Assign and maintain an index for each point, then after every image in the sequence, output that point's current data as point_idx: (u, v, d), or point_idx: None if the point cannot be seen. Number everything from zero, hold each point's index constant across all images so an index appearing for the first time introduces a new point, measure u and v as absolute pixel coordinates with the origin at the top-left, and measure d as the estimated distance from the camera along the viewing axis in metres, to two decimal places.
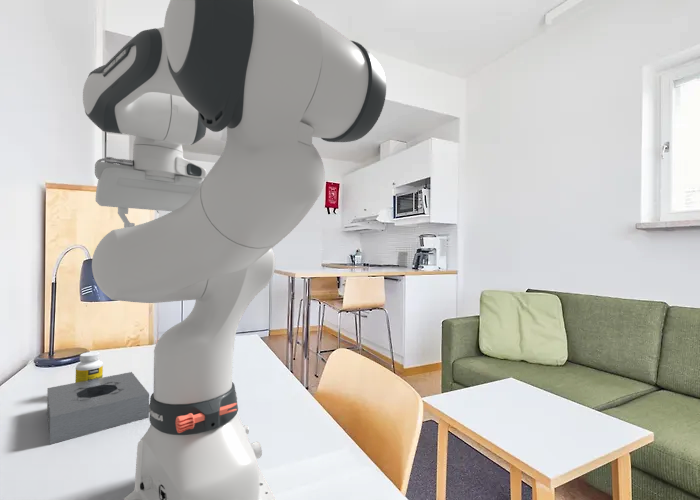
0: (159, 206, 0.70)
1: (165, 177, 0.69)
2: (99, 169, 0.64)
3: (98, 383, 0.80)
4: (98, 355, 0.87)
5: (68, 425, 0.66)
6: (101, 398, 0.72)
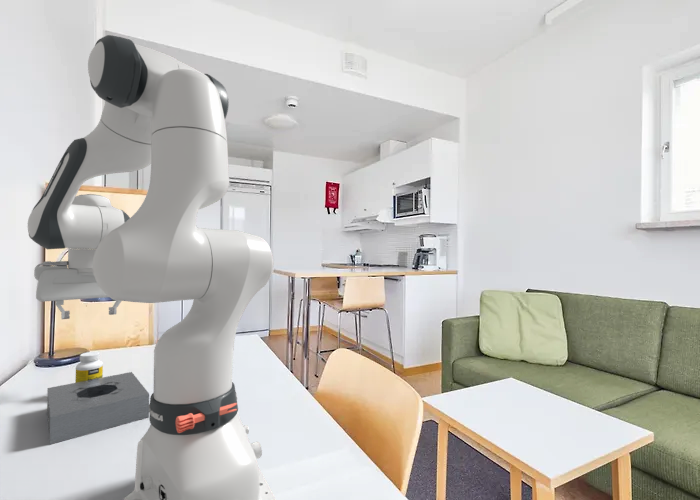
0: (91, 295, 0.86)
1: None
2: (38, 272, 0.80)
3: (98, 383, 0.80)
4: (98, 355, 0.87)
5: (68, 425, 0.66)
6: (101, 398, 0.72)
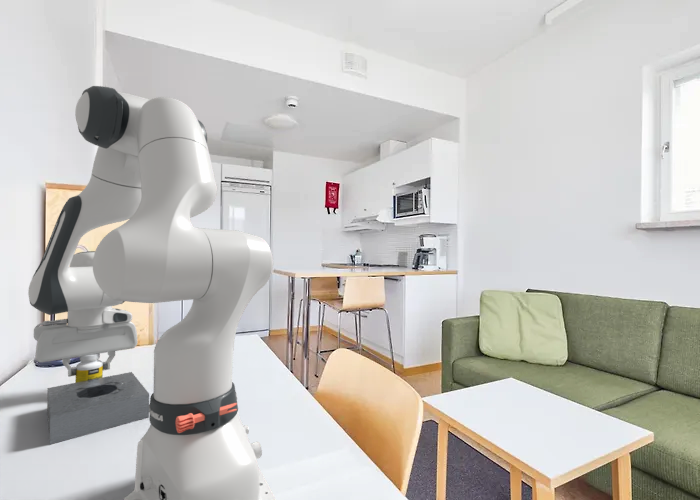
0: (90, 352, 0.86)
1: (94, 329, 0.85)
2: (37, 333, 0.80)
3: (98, 383, 0.80)
4: (98, 355, 0.87)
5: (68, 425, 0.66)
6: (101, 398, 0.72)
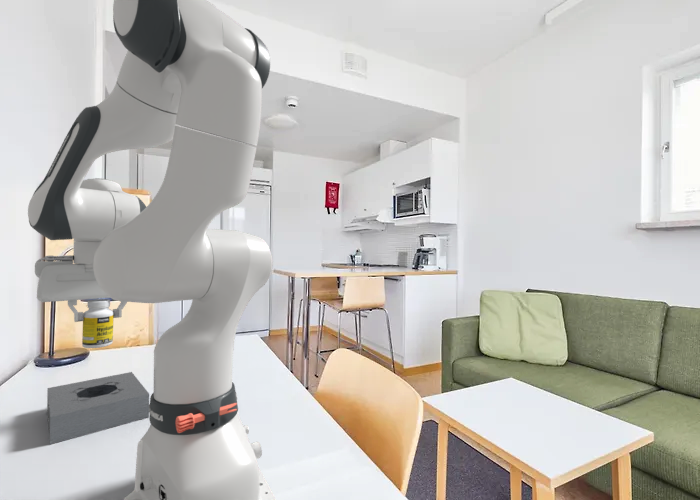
0: (100, 294, 0.75)
1: None
2: (39, 268, 0.69)
3: (98, 383, 0.80)
4: (108, 302, 0.76)
5: (68, 425, 0.66)
6: (101, 398, 0.72)
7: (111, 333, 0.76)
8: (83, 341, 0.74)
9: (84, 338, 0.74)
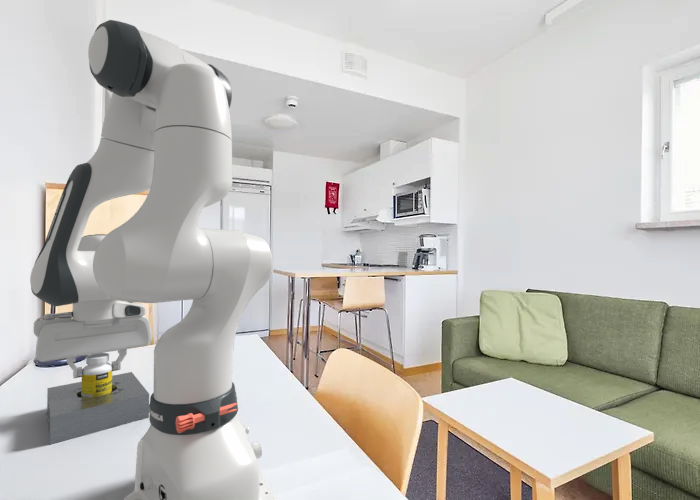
0: (99, 350, 0.75)
1: (103, 323, 0.74)
2: (38, 328, 0.69)
3: None
4: (107, 357, 0.76)
5: (68, 425, 0.66)
6: (101, 398, 0.72)
7: (110, 388, 0.76)
8: None
9: (83, 395, 0.74)
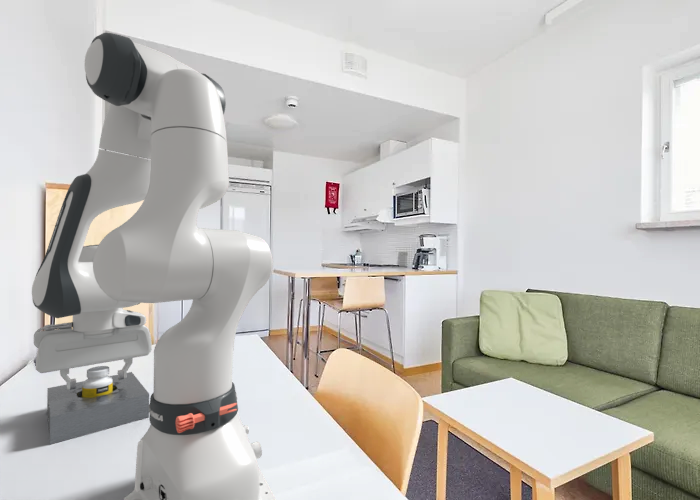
0: (99, 360, 0.75)
1: (103, 334, 0.74)
2: (38, 339, 0.69)
3: None
4: (108, 370, 0.76)
5: (68, 425, 0.66)
6: (101, 398, 0.72)
7: None
8: None
9: None
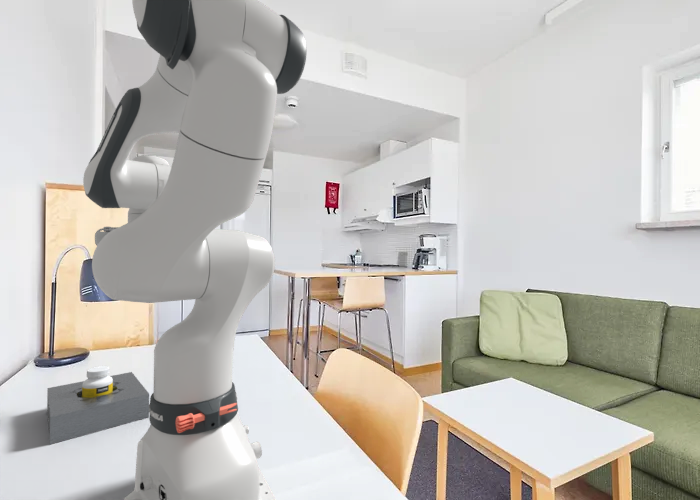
0: None
1: None
2: (99, 238, 0.74)
3: None
4: (107, 370, 0.76)
5: (68, 425, 0.66)
6: (101, 398, 0.72)
7: None
8: None
9: None
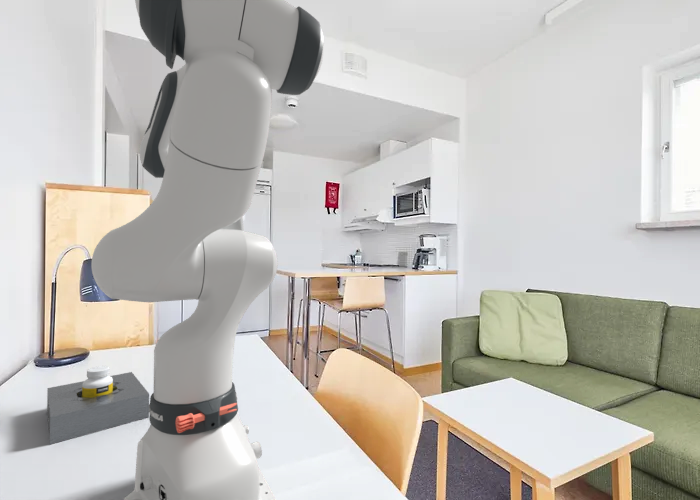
0: None
1: None
2: None
3: None
4: (108, 370, 0.76)
5: (68, 425, 0.66)
6: (101, 398, 0.72)
7: None
8: None
9: None
